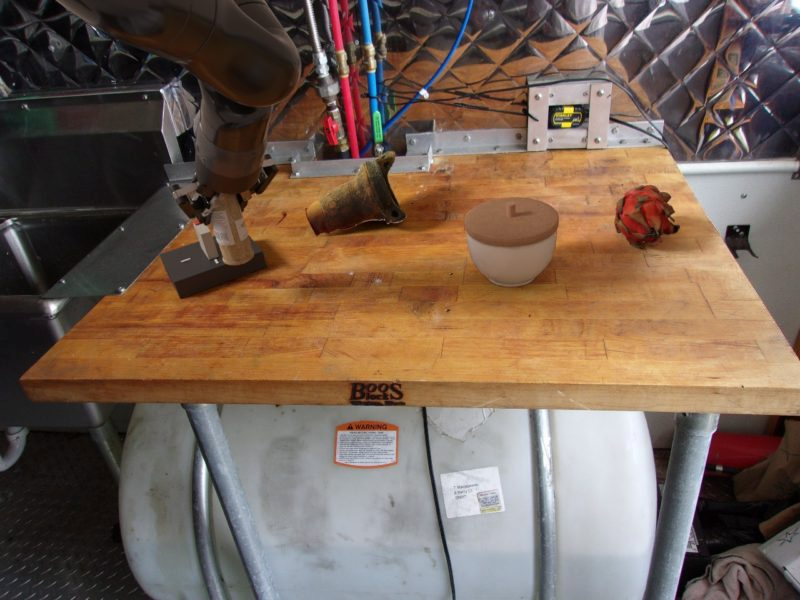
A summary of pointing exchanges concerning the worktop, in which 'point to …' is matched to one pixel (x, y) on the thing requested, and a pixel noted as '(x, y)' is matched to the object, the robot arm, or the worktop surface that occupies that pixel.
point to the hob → (205, 268)
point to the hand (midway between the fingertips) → (221, 212)
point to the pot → (358, 200)
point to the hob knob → (206, 240)
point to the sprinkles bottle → (231, 232)
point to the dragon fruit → (644, 216)
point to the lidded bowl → (511, 239)
